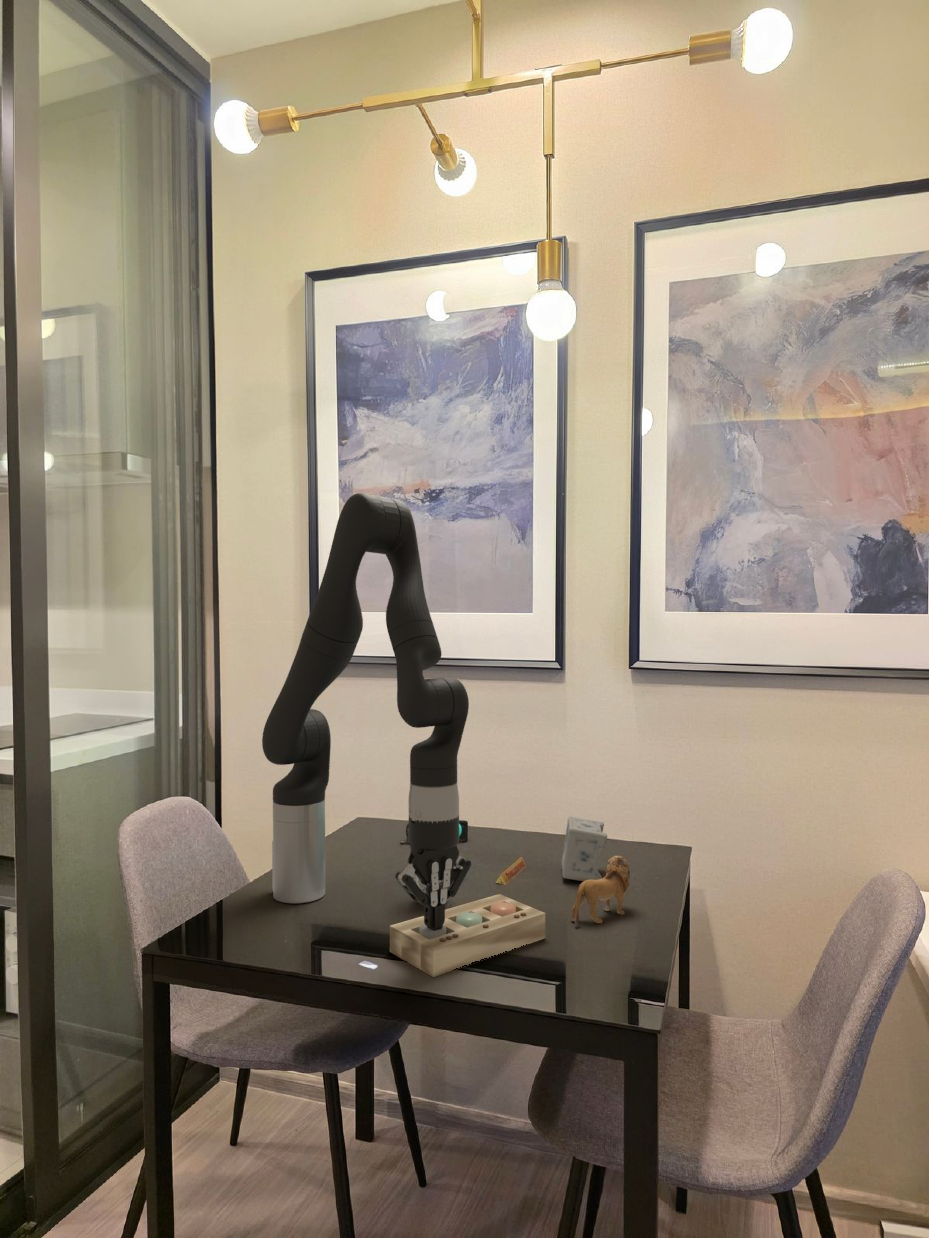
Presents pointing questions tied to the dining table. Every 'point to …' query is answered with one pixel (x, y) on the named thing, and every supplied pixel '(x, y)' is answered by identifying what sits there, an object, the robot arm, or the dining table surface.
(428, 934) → the slate button
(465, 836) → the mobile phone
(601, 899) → the lion figurine
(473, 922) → the sage button
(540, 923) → the button panel
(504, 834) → the dining table surface
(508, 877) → the chocolate bar
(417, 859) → the robot arm
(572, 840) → the incense holder
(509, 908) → the terracotta button
